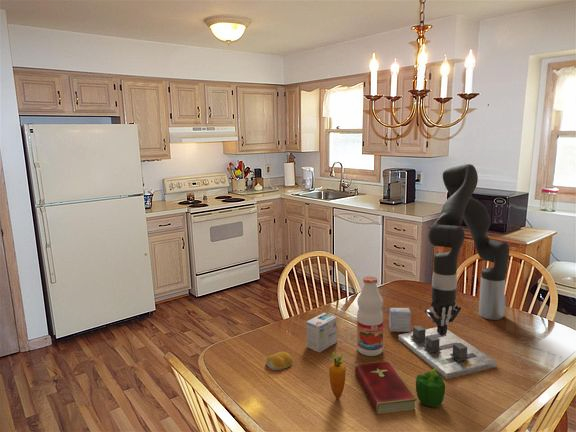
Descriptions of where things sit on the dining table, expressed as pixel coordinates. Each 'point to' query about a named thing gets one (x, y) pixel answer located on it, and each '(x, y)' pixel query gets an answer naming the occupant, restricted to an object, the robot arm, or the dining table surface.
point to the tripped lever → (459, 352)
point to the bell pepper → (430, 388)
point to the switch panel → (448, 354)
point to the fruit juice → (370, 319)
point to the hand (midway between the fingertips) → (441, 334)
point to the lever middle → (432, 343)
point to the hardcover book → (385, 387)
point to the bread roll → (279, 361)
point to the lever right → (418, 333)
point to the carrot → (337, 376)
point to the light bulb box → (321, 332)
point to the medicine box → (399, 319)
